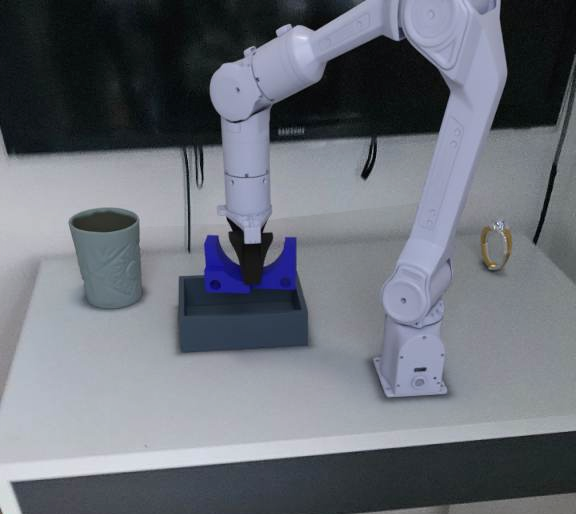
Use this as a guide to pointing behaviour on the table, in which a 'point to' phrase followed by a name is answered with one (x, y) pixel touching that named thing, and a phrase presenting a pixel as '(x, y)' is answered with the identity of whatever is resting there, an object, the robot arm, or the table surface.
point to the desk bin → (240, 317)
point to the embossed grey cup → (108, 255)
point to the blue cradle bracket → (228, 275)
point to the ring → (506, 243)
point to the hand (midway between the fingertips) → (250, 275)
